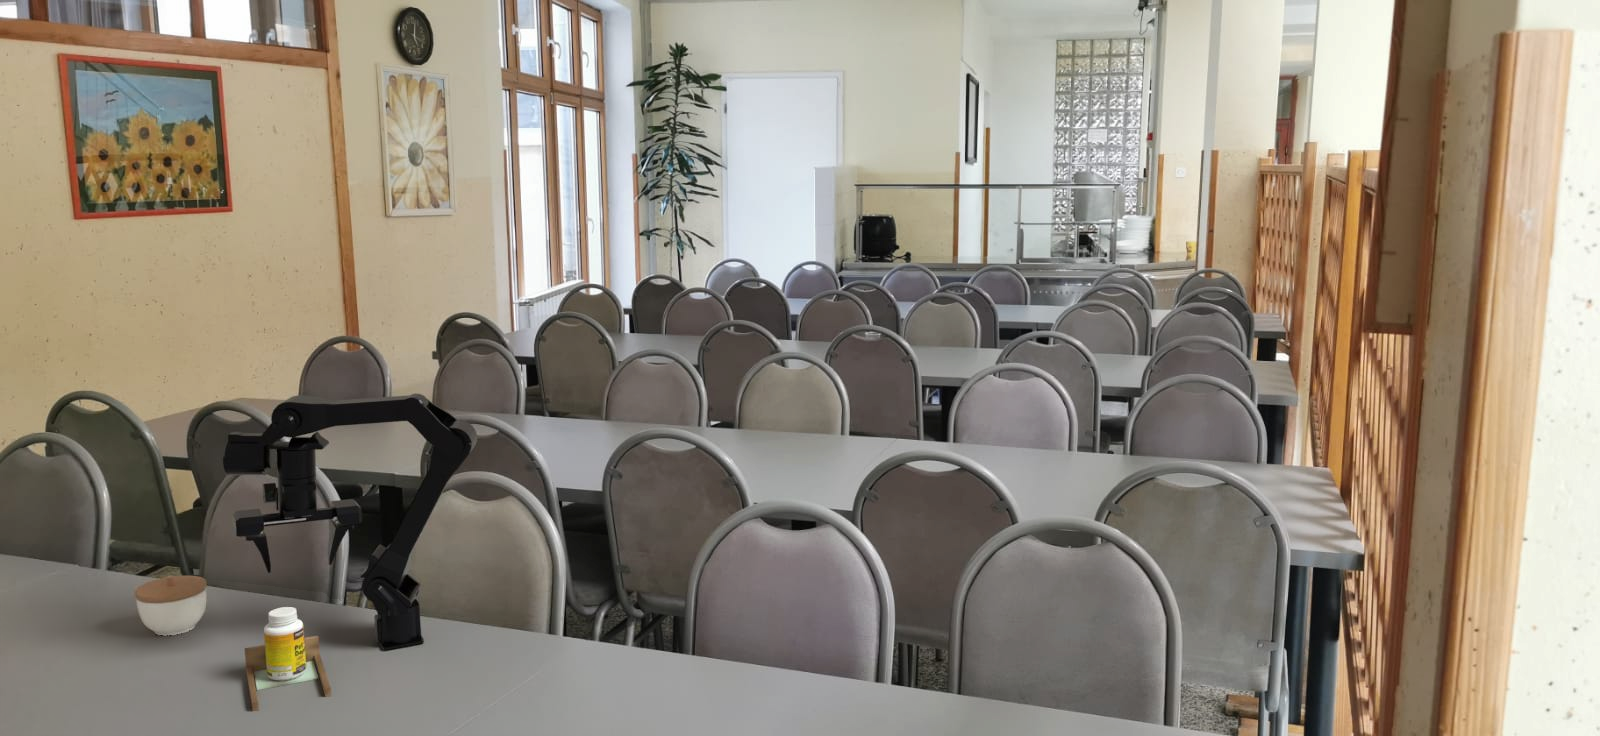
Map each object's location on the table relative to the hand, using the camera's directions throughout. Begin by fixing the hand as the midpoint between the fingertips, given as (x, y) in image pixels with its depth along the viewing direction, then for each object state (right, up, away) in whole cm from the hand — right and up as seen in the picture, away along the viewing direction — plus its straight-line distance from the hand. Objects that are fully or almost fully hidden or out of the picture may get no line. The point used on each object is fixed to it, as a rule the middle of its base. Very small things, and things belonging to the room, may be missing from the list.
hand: (299, 568), depth 189 cm
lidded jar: (-25, -12, +9) cm, 30 cm away
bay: (+3, -16, -12) cm, 20 cm away
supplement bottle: (+2, -15, -10) cm, 18 cm away
